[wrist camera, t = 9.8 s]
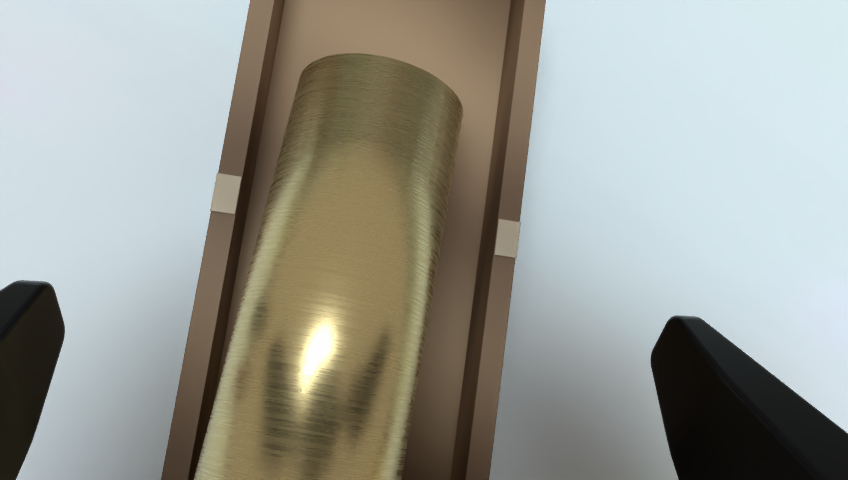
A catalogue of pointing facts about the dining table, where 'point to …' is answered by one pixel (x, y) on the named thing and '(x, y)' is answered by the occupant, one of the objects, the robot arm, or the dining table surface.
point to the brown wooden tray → (465, 220)
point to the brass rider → (339, 279)
